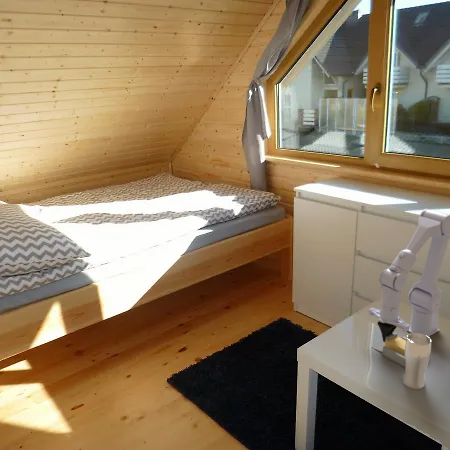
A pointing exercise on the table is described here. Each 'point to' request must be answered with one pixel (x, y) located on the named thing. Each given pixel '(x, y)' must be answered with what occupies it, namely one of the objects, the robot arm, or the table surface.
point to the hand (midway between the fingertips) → (386, 341)
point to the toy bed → (395, 343)
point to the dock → (391, 353)
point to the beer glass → (416, 359)
